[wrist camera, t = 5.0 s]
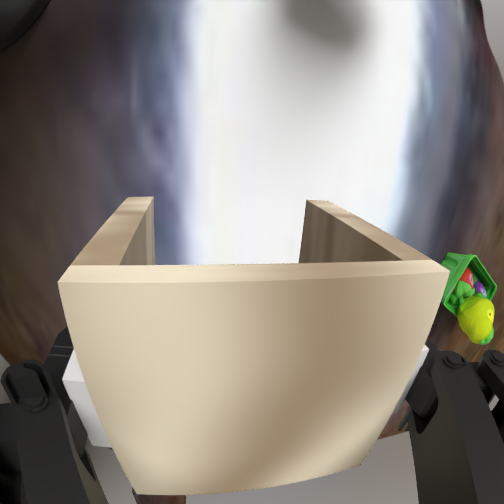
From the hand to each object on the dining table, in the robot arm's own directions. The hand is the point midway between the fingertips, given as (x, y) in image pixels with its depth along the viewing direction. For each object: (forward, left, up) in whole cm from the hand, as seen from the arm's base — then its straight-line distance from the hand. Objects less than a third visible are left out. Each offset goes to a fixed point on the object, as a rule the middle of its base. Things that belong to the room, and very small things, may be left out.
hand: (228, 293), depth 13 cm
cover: (0, 0, 0) cm, 0 cm away
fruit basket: (+27, +22, -17) cm, 39 cm away
